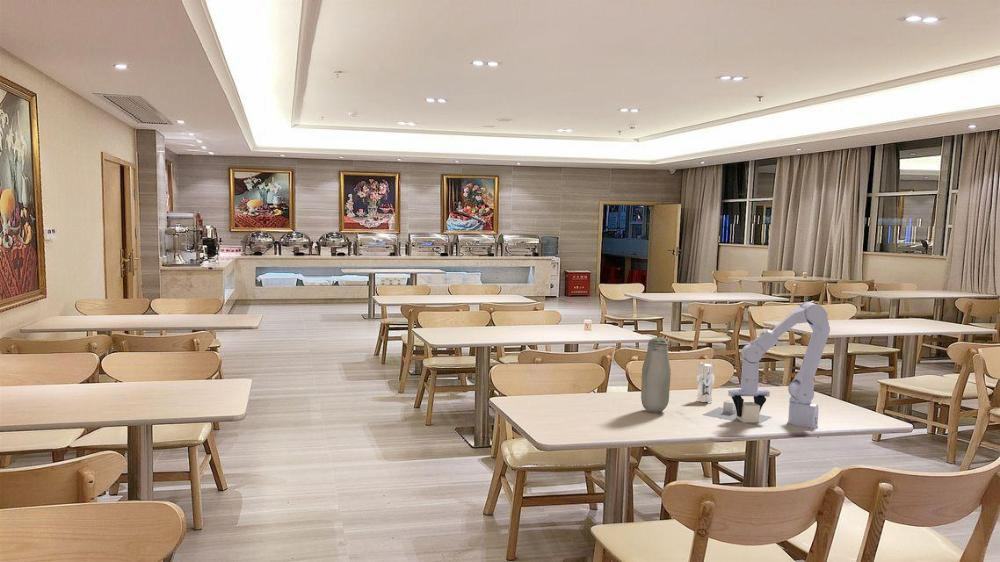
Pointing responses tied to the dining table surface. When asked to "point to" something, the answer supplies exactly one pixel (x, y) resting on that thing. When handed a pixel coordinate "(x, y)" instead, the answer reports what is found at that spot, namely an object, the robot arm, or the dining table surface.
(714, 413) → the duct panel
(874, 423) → the dining table surface
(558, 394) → the dining table surface
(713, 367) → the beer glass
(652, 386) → the grey bottle
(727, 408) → the duct stub
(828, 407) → the dining table surface
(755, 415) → the collar
